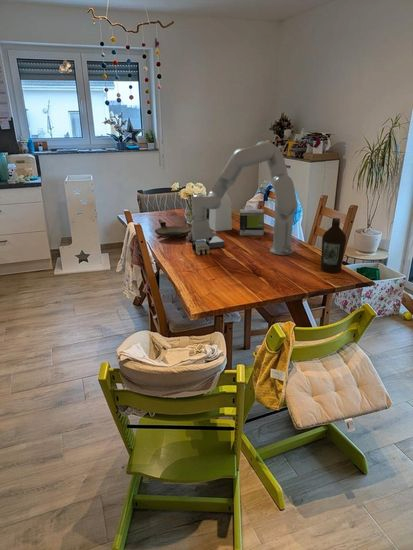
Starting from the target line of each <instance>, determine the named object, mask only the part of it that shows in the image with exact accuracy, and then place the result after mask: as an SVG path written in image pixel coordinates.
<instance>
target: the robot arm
mask: <svg viewBox="0 0 413 550" xmlns="http://www.w3.org/2000/svg"><path fill="white" fill-rule="evenodd" d="M263 162H266V163H267V167H268V171H269V175H270V181H271V186H272V188H273V190H274V194H275V201H274V221H273V222H274V225H273V226H274V227H273V236H272V237H273V239H272V240H273V241H272V247H270V248H269V252H270V253H271V254H273V255H279V256H280V255H281V256H286V255H287V256H288V255H291V254H293V253H294V248H292V233H293V222H294V214H295V213H296V211H297V209H298V200H297V195H296V190H295V184H294V182H293V180H292V178H291V177H290V176H289V173H288V169H287V164H286V160H285V157H284V153H282V151H281V149H280V148H279V147H278V146H276V145H275V144H274V143H272V142H269V141H266V140H264V141H263V140H262V141H259V142H257V143H256V144H255V145H252V146H249V147H245V148H242V147H239V148H237V149H235V150H234V152H233V153H232V154H231V156H230V158H229V159H228V161H227V163H226V165H225V166H224V168H223V170H222V171H221V173H220V174H219V176H218V178H217V179H216V181H215V182H214V184H213V186H212V188H211V189H210V191H209V192H208V196H207V195H206V194H203V193H195V194H193V195H192V196H191V205H192V206H191V207H192V216H189V220H191V222H190V223H191V224H190V228H191V232H189V233H188V234H187V236H186V237H185V239H186V240H187V241H188V242H190V243H191V247H192V248H191V249H193V250H194V251H196V244H195V242H196V240H201V239H206V244H207V245H208V246H209V242H210V241H211V239H212V238H213V237H214V234H213V233H212V232H213V231H211V228H210V225H209V219H208V217H207V209H218V208H219V207H220V205H221V199H222V197H223V196H224V194H225V193H227V192H228V190H229V188H230V187H232V186H233V185H234V184H235V183H236V182H237V180H238V179H239V177H240V175H241V173H242V172H243V170H244V169H245V168H246V167H251V166H254V165H257V164H261V163H263ZM210 235H211V236H210ZM191 238H192V239H191ZM193 250H192V251H193ZM194 251H193V252H194Z"/></svg>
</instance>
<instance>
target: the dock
mask: <svg viewBox="0 0 413 550" xmlns="http://www.w3.org/2000/svg"><path fill="white" fill-rule="evenodd" d="M211 232H212V233H213V234H214V237H213V238H212V239H211V241H210V242H209V249H215V248H223V247H225V240H223V239H221V238H220V237H219V236H218V235H217V231H211ZM210 236H211V235H210ZM204 240H205V241H206V239H204Z"/></svg>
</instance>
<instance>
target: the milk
mask: <svg viewBox="0 0 413 550" xmlns="http://www.w3.org/2000/svg"><path fill="white" fill-rule="evenodd" d="M232 219H233V218H232V201H231V199H230V196H229V195H228V193H227V192H226V193H225V194H224V196H223V197H222V199H221V205H220V207H219V208H218V209H210V210H209V215H208V220H209V225H210V230H213V232H221V231H222V232H223V231H231V230H233V221H232Z"/></svg>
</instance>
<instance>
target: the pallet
mask: <svg viewBox="0 0 413 550" xmlns="http://www.w3.org/2000/svg"><path fill="white" fill-rule="evenodd" d="M191 249H192V248H191ZM192 251H193V252H194V253H195V254H196V255H198V256H200V255H201V254H202V255H205V254H210V248H209V246H208V245H207V244H206V246H197V245H196V251H194V250H193V249H192Z"/></svg>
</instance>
